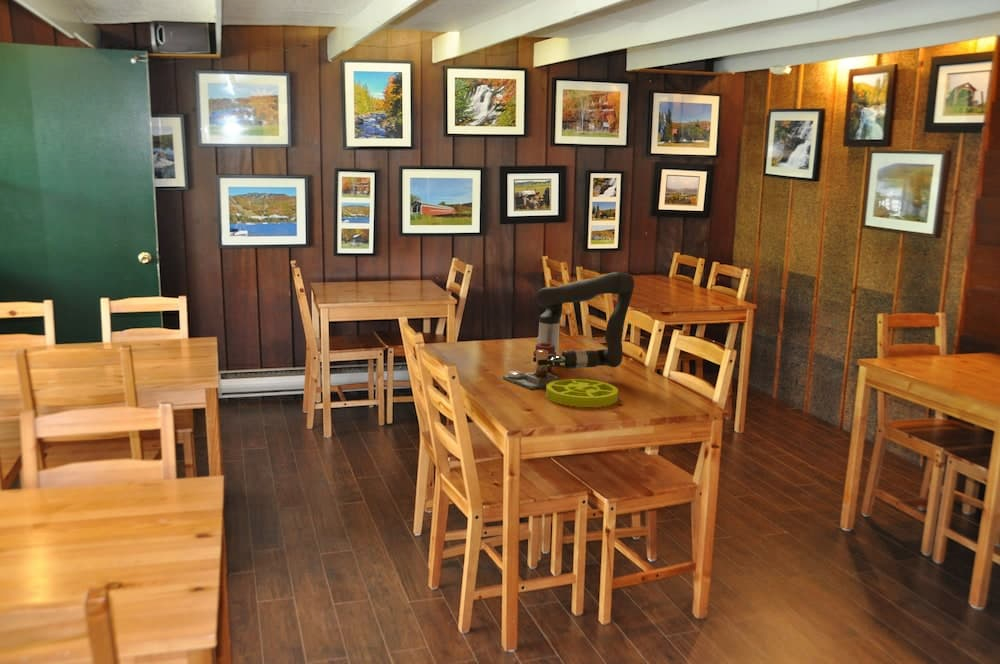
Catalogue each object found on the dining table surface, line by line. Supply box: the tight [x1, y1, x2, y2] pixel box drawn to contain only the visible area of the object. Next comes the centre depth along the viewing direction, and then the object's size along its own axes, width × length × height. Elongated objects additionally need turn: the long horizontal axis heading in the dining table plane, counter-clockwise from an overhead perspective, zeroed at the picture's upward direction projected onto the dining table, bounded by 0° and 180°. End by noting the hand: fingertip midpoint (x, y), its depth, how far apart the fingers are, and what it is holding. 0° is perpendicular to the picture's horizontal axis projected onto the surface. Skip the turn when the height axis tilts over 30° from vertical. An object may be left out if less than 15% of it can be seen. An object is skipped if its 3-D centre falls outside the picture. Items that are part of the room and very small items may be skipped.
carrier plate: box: [502, 370, 559, 390], centre depth 368 cm, size 20×16×3 cm
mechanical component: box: [533, 342, 556, 372], centre depth 387 cm, size 12×10×10 cm
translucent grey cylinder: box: [534, 350, 548, 379], centre depth 366 cm, size 6×6×12 cm
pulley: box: [545, 378, 619, 408], centre depth 347 cm, size 28×28×5 cm
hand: (535, 360), depth 365 cm, fingers open, 5 cm apart
